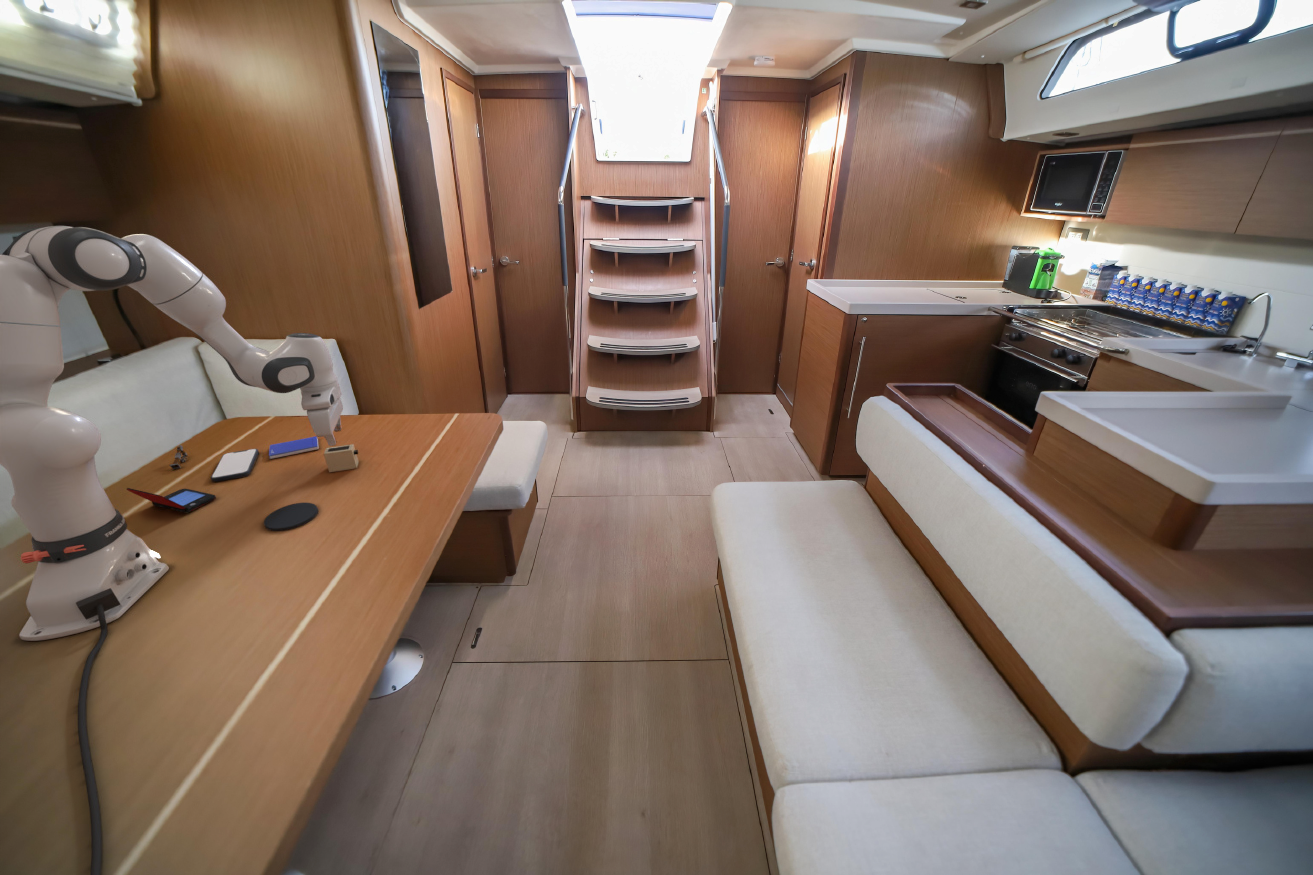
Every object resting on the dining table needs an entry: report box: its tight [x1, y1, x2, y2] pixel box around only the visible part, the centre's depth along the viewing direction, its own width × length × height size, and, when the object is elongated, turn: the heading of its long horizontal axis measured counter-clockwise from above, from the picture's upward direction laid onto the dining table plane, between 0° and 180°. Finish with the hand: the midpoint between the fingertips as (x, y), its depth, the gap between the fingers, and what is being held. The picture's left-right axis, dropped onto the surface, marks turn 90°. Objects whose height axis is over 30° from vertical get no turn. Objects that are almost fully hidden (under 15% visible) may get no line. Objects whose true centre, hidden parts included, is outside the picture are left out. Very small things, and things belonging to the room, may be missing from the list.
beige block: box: [323, 443, 359, 473], centre depth 144 cm, size 4×8×6 cm, turn 111°
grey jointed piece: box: [169, 444, 189, 470], centre depth 147 cm, size 2×8×4 cm, turn 22°
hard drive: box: [268, 435, 319, 460], centre depth 155 cm, size 2×8×12 cm
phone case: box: [210, 448, 260, 483], centre depth 145 cm, size 9×2×16 cm
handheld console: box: [126, 487, 217, 514], centre depth 126 cm, size 12×11×7 cm
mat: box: [263, 502, 319, 532], centre depth 123 cm, size 11×11×1 cm
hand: (335, 437), depth 142 cm, fingers open, 8 cm apart
